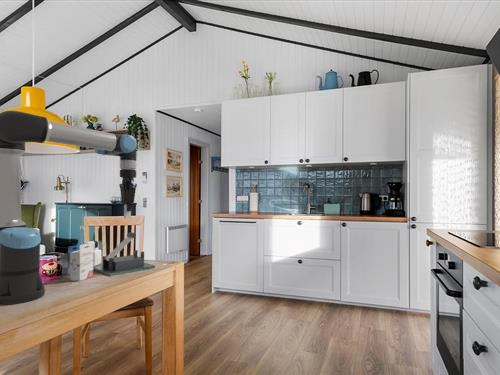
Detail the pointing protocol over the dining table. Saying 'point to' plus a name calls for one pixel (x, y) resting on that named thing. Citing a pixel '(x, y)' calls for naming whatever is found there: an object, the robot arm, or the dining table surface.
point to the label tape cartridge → (68, 259)
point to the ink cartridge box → (81, 263)
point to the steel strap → (120, 246)
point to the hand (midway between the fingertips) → (127, 218)
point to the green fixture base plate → (123, 264)
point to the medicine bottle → (95, 253)
